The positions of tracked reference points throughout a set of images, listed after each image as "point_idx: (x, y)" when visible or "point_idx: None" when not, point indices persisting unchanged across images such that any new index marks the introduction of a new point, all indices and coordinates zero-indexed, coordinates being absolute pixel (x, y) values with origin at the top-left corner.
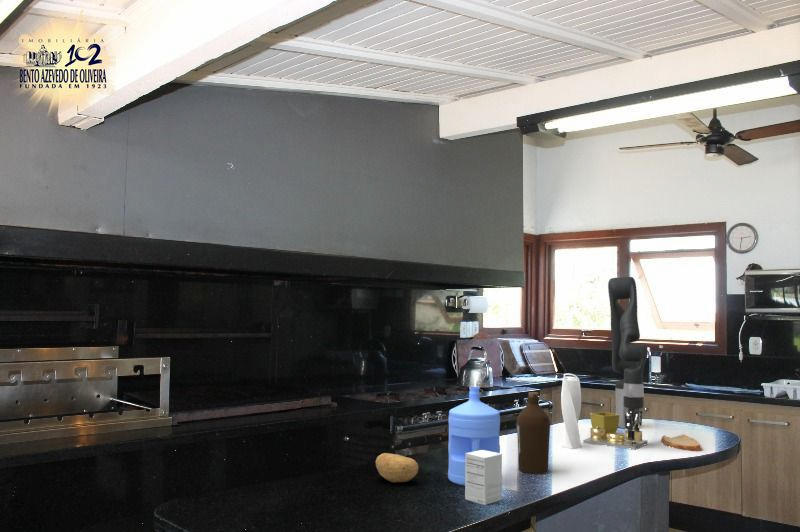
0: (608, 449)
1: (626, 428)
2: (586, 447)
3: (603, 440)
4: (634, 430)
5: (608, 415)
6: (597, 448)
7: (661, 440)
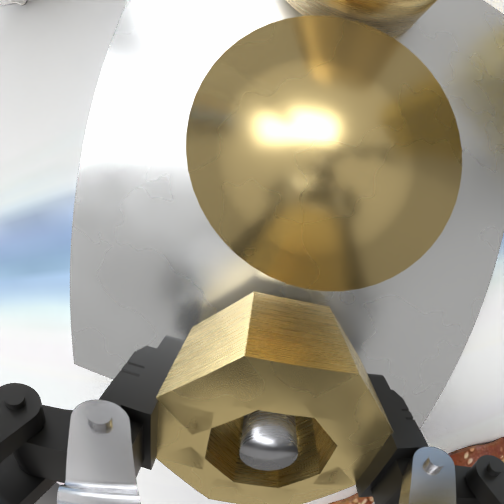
0: (7, 166)
1: (11, 396)
2: (26, 23)
3: (225, 34)
4: (331, 453)
5: None
6: (12, 88)
7: (455, 461)
